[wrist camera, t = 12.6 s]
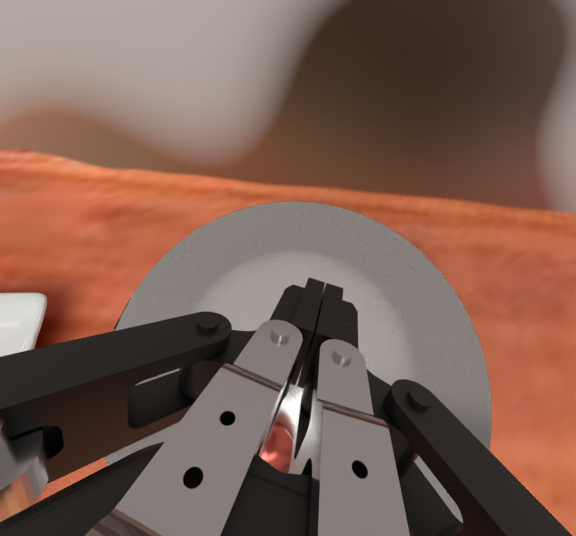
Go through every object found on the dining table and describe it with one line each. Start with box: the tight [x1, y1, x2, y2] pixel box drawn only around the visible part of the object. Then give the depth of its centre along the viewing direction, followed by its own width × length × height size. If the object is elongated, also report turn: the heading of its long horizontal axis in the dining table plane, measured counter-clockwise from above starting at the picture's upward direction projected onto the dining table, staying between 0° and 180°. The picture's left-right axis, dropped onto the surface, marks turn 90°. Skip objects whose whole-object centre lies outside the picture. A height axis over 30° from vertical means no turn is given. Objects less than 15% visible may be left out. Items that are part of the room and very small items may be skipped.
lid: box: [106, 201, 492, 523], centre depth 15 cm, size 22×21×2 cm
